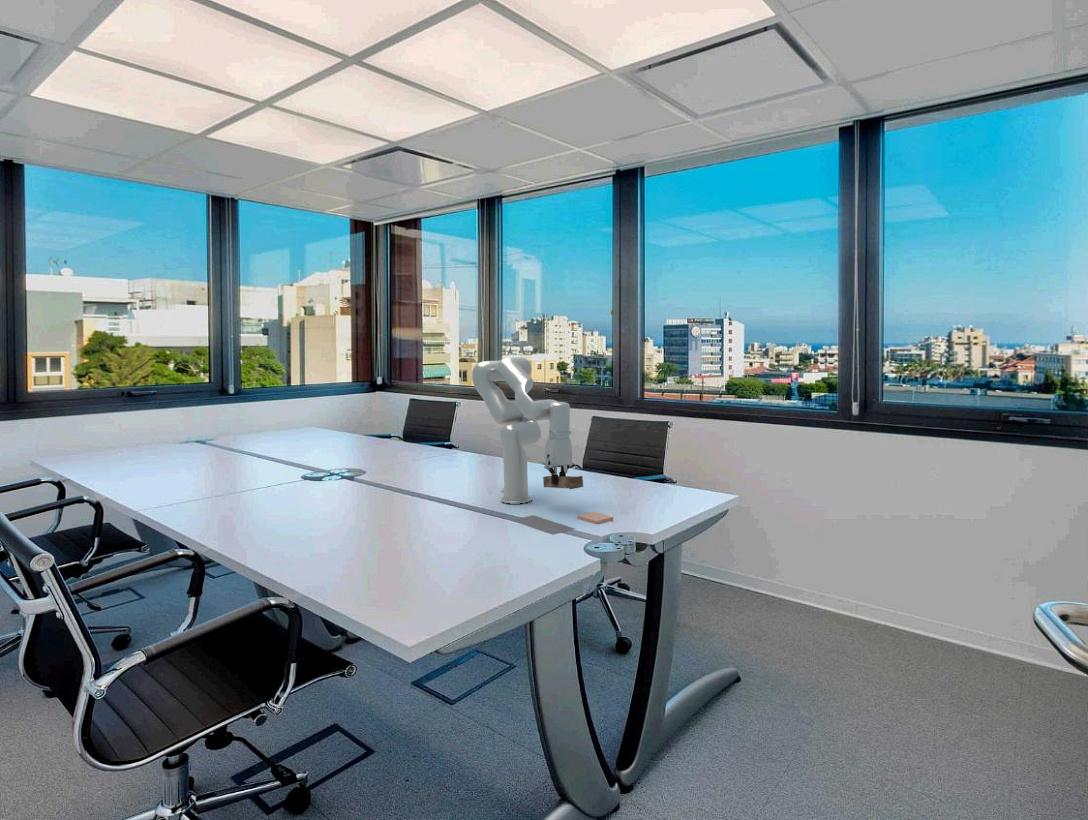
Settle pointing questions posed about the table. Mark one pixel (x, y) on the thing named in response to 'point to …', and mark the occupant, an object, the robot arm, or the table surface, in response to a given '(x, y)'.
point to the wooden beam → (564, 482)
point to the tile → (595, 517)
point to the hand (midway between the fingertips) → (558, 483)
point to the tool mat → (543, 524)
